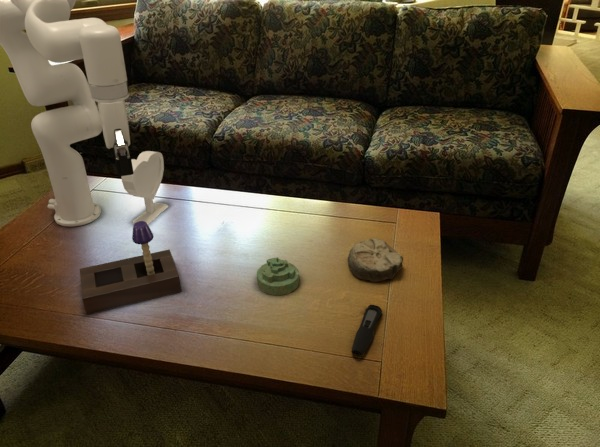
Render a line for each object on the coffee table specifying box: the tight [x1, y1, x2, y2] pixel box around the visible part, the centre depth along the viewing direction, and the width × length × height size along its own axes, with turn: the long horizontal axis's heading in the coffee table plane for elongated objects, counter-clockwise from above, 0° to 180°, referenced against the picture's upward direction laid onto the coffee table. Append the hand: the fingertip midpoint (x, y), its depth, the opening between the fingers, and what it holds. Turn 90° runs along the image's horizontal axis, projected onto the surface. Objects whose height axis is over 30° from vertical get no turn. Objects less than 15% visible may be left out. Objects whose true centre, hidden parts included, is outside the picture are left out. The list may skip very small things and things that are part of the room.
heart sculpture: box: [120, 150, 169, 225], centre depth 148 cm, size 16×5×18 cm, turn 162°
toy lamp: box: [131, 221, 155, 276], centre depth 120 cm, size 5×5×17 cm
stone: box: [347, 237, 404, 283], centre depth 128 cm, size 13×13×5 cm
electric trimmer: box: [350, 304, 383, 357], centre depth 108 cm, size 4×16×3 cm, turn 159°
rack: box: [79, 249, 182, 315], centre depth 121 cm, size 12×21×4 cm, turn 113°
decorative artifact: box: [256, 257, 300, 296], centre depth 123 cm, size 10×7×10 cm
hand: (123, 165), depth 115 cm, fingers open, 9 cm apart
